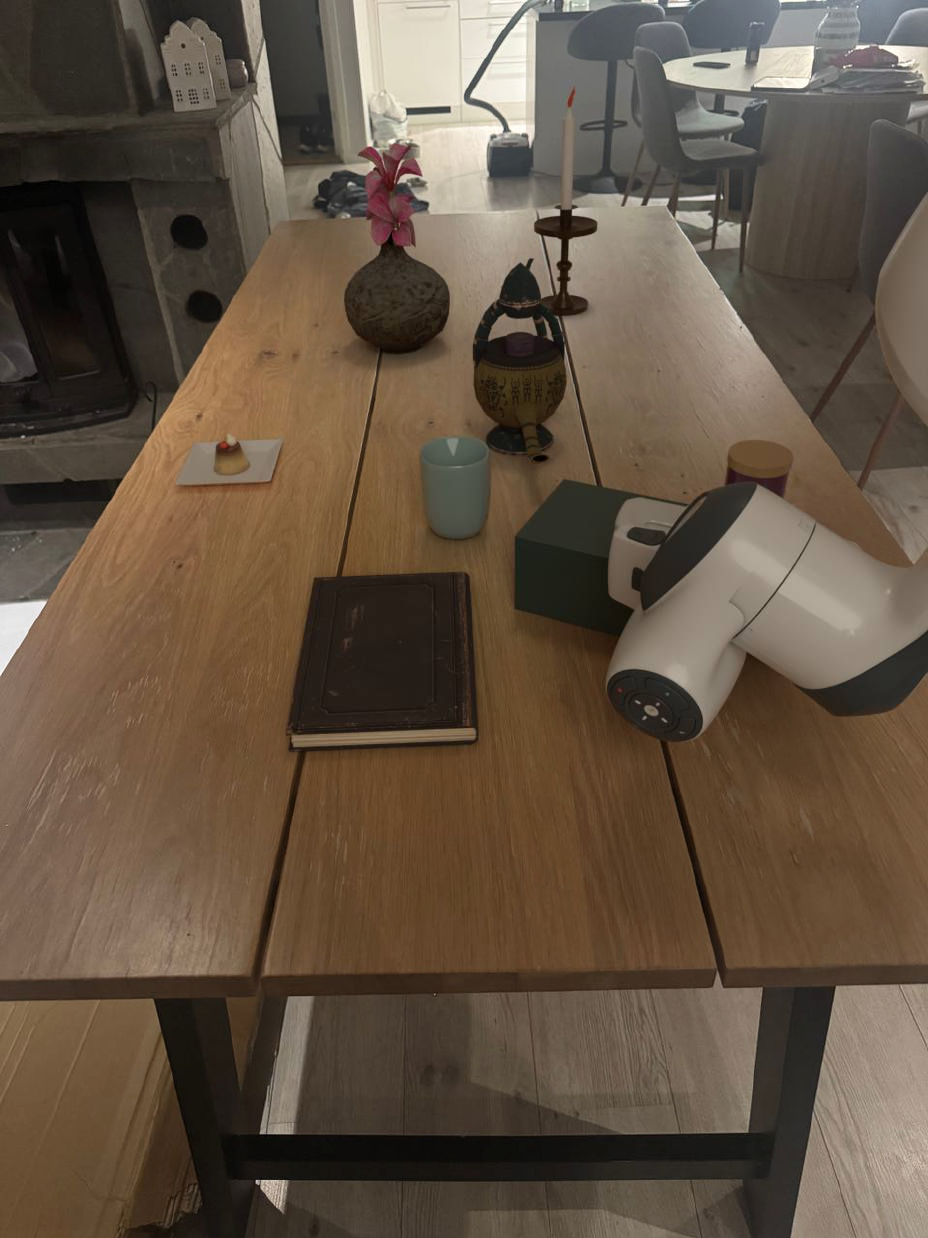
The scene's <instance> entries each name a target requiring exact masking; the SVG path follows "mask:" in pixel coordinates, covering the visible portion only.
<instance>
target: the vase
mask: <svg viewBox="0 0 928 1238" xmlns="http://www.w3.org/2000/svg"><path fill="white" fill-rule="evenodd" d="M412 147H413V145H411V144H408V145H407V146H405V145H404V144H400V143H397V142H393V143H392V144H391V147H390V149H389V153H386V152H384V151H382V154H381V155H380V153H379V152H378V150H377V149H375V148H374V147H373V146H372V145H371V146H366V147H365V148H364V149H362V150H360V152H358V153H357V157H361V158H364V159H366V160H368V161H370V162H371V163H372V164H374V167H373V168H372V170H370V171H369V172H368V173H367V174H366V176H365V179H364V184H365V185H364V186H365V192H366V197H367V199H368V200H367V202H366V210H365V217H366V218H365V221H370V220H371V222H370V224H371V225H370V237H371V238H372V240H373V242H374V243H375V245H376V246H377V247H380V249H379V252H378V254H377V255H376V256H375V257H374V258H373V259H372V260H370V261H369V262H366V264H364V265H363V266H362V267H360V268H359V269H358V270H357V271H356V272H355V273H354V275H353V276H352V277H351V278H350V280H349V282H348V283H347V285H346V287H345V289H344V295H343V296H344V297H343V303H344V310H345V315H346V319H347V321H348V323H349V325H350V326H351V328H352V330H353V331H354V333H355V335H356V336H357V337H359V338H360V339H362V340H364V341H365V342H367V343H369V344H371V345H372V346H374V347H377V348H378V349H379V348H380V350H381V351H382V352H384V353H385V354H389V355H404V354H410V353H414V352H416V351H418V350H420V349H421V347H422V346H423V345H424V344H426V343H428V342H430V341H431V340H434V338H436V337H437V336H438V335H439V334H440V333H442V332H443V331H444V330H445V327H446V324H447V322H448V319H449V315H450V306H451V294H450V289H449V285H448V283H447V282H446V280H445V279H444V278H443V276H442V275H441V274H440V273H438V272H437V270H435V269H434V268H433V267H431V266H430V265H428V264H426V263H424V262H422V261H420V260H418V259H416V258H413V257H412V256H410V255H409V254H408V253H407V251H406V249H405V247H409V248H410V247H412V246H413V247H414V248H416V247H417V243H416V231H415V225H414V222H413V220H412V219H411V217H412V216H413V214H414V212H415V209H414V207H413V206H412V205H411V204H410V201H412V200H415V199H417V196H415V195H412V194H407V193H403V192H398V193H397V194H395V192H396V191H395V190H396V188H397V185H398V183H399V181H400V179H401V177H403V176H404V175H413V176H418V177H422V178H423V173H422V170H421V168H420V165H419V163H418V161H417V159H416V158H415V157H412V156H410V157H406V159H404V160H403V158H404V156H405V155H406V154H407V153H408V152H409V151H411V148H412ZM402 160H403V161H402ZM399 166H400V167H399Z"/></svg>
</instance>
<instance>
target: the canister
mask: <svg viewBox="0 0 928 1238" xmlns="http://www.w3.org/2000/svg"><path fill="white" fill-rule="evenodd" d="M793 463H794V454H793V452H792V451H791V449H789V448H788V447H786V446H784V445H782V444H780V443H777V442H774V441H771V440H764V439H762V440H761V439H746V440H740V441H737V442H735V443H733V444H732V445H730V447H729V448H728V450H727V456H726V469H725V477H724V483H723V486H725V485H729V484H734V483H739V482H756V483H757V484H759V485H761V486H763V487H764V488H766V489H768V490H770V491H771V492H773V493H775V494H776V495H778V496H779V497H781V498H783V499H784V500H785V495H786V489H787V487H788V481H789V475H790V471H791V470H792V467H793Z"/></svg>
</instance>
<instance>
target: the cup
mask: <svg viewBox="0 0 928 1238" xmlns="http://www.w3.org/2000/svg"><path fill="white" fill-rule="evenodd" d="M490 451H491V449H490V448H489V447H488V446H487V444H486V441H483V440H482V439H480V438H476V437H474V436H473V437H472V436H468V435H467V436H465V435H449V436H441V437H436V438H434V439H430V440H429V441H427V442H426V443H425V444H423V445H422V447H421V448H420V450H419V455H418V456H419V457H418V458H419V477H420V491H421V499H422V506H423V511H424V515H425V519H426V522H427V524H428V526H429V528H430V529H431V530H432V531H433V533H434V534H435V535H437V536H438V537H441V538H444V539H447V540H465V539H470V538H472V537H474V536H476V535H478V534H479V533H480V532H482V530H483V528H484V527H485V525H486V523H487V521H488V518H489V515H490V514H489V513H490V507H491V498H492V497H491V495H492V462H491V460H492V459H491V452H490Z"/></svg>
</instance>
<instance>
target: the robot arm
mask: <svg viewBox="0 0 928 1238" xmlns="http://www.w3.org/2000/svg"><path fill="white" fill-rule="evenodd" d="M874 315H875V326H876V332H877V337H878V342H879V345H880V350H881V352H882V355H883V359H884V362H885V364H886V367H887V369H888V371H889V373H890V376H891V378H892V379H893V382H894V384H895V385H896V387H897V388H898V390H899V392H900V394H901V395H902V397H903V398H904V400H905V401H906V402H907V404H908V405H909V406H910V408H912V410H913V411H914V413H915V414H916V415H917V417H919V419H920V420H921V421H922V422H923V424H924V425H925V426H926V428H928V191H927V192H926V194H925V195H924V196H923V198H922V199H921V200H920V202H919V203H918V205H917V207H916V208H915V210H914V211H913V213H912V214H911V216H910V217H909V219H908V221H907V222H906V224H905V225H904V227H903V229H902V230H901V232H900V233H899V235H898V237H897V238H896V240H895V242H894V244H893V245H892V248H891V249H890V251H889V253H888V255H887V256H886V258H885V260H884V262H883V264H882V266H881V269H880V270H879V275H878V279H877V283H876V290H875V303H874ZM608 590H609V595H610V596H611V597H612V598H613V599H615V600H616V601H618V602H620V603H622V604H624V605H626V606H628V607H630V608H632V609H634V612H633V614H632V615H631V617H630V619H629V621H628V622H627V624H626V626H625V628H624V630H623V632H622V634H621V636H619V638H618V641H617V643H616V645H615V648H614V650H613V654H612V656H611V659H610V662H609V665H608V667H607V670H606V671H607V672H606V676H605V682H604V690H605V694H606V697H607V700H608V702H609V704H610V705H611V707H612V709H613V710H614V711H615V712H616V713H617V715H619V716H620V717H621V719H623V720H624V721H625V722H627V724H630V725H631V726H632V727H634V728H635V729H637V730H638V731H640V732H641V733H643V734H645V735H647V736H649V737H651V738H654V739H656V740H660V741H663V742H668V743H686V742H690V741H693V740H696V739H697V738H698V737H700V736H701V735H702V734H703V733H704V732H705V731H706V730H707V729H708V727H710V725H711V723H712V722H713V721H714V720H715V718H716V717H717V715H718V714H719V712H720V711H721V709H722V707H723V706H724V705H725V703H726V701H727V699H728V698H729V696H730V695H731V693H732V690H733V689H734V686H735V684H736V682H737V681H738V678H739V676H740V674H741V671H742V669H743V667H744V664H745V661H746V658H747V653H748V654H749V655H750V656H752V657H754V658H755V659H757V660H758V661H759V662H762V663H763V664H765V665H766V666H768V667H769V668H771V669H772V670H774V671H775V672H777V673H779V674H780V675H781V676H783V677H784V678H786V679H787V680H789V681H790V682H791V683H792V684H793V685H794V686H795V687H796V688H797V689H798V690H799V691H801V692H802V693H803V694H804V695H806V696H807V697H808V698H810V699H811V700H812V701H814V702H815V703H816V704H817V705H819V706H820V707H821V708H822V709H824V710H825V712H827V713H829V714H830V715H832V716H833V717H837V718H838V717H839V718H840V717H841V718H843V717H844V718H845V717H848V718H851V717H853V718H854V717H865V716H872V715H878V714H879V715H880V714H884V713H889V712H891V711H893V710H895V709H896V708H897V707H899V706H900V705H901V704H902V703H903V702H904V701H905V700H906V699H908V698H909V697H910V696H911V695H912V694H913V693H914V692H915V691H916V689H918V687H919V686H921V685H920V684H922V683H923V681H924V679H925V678H926V677H927V675H928V546H927V547H926V548H925V549H924V551H923V552H922V553H921V554H920V556H919V557H918V558H917V560H916V561H915V562H914V563H913V565H912V566H905V567H904V566H897V565H893V564H888V563H886V562H883V561H881V560H878V559H877V558H875V557H873V556H872V555H870V554H869V553H867V552H866V551H864V550H863V548H862V547H861V546H860V545H859V544H858V543H857V542H856V541H854V540H850V539H846V538H844V537H842V536H840V535H839V534H837V533H836V532H834V531H832V530H831V529H829V528H828V527H826V526H825V525H823V524H822V523H820V522H818V521H817V520H816V519H815V518H814V517H813V516H811V515H810V514H808V513H806V512H805V511H803V510H801V509H800V508H798V507H797V506H795V505H794V504H792V503H791V502H789V501H788V500H786V499H785V498H784V499H783V498H781V497H779V496H778V495H776V494H775V493H773V492H771V491H770V490H768V489H766V488H764V487H763V486H761V485H759V484H757V483H756V482H739V483H734V484H729V485H725V486H724V485H721V486H719V487H717V488H716V487H715V488H712V489H709V490H706V491H704V492H702V493H701V494H699V495H698V496H696V498H695V499H694V500H693V501H692V502H690V505H688V506H687V507H684V506H679V505H675V504H670V503H665V502H660V501H655V500H650V499H646V498H640V497H639V498H633V499H629V500H627V501H625V502H624V504H623V505H622V507H621V508H620V510H619V512H618V515H617V517H616V520H615V528H614V534H613V538H612V542H611V547H610V553H609V561H608Z"/></svg>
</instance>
